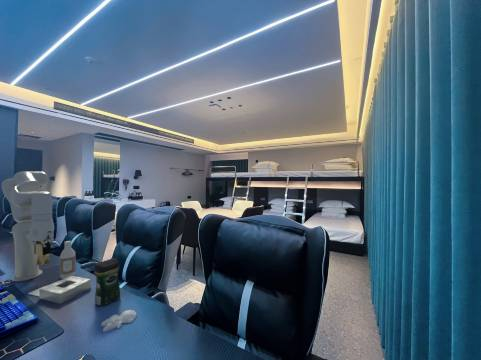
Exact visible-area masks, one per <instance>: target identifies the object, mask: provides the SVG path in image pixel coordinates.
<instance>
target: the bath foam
mask: <svg viewBox="0 0 481 360" xmlns="http://www.w3.org/2000/svg"><path fill="white" fill-rule="evenodd" d="M63 248H64V249H63V250H62V251H61V253H60V256H59V277H60V279H61V280H62V279H64V278H67V277H69V276H75V277H76V274H77V272H76V271H77V263H76V262H77V260H76V258H77V256H76V251H75V250H74V249H73V248H72V241H71V240H67V241H64V247H63Z"/></svg>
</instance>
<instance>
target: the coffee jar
mask: <svg viewBox="0 0 481 360" xmlns="http://www.w3.org/2000/svg"><path fill="white" fill-rule="evenodd" d="M119 270H120V262H119V259H117V258H114V257H113V258H110V259H106V260H103V261H100V262H97V263H95V265H94V271H93V272H94V275H95V278H96V284H95V295H94V303H95V304H96V306H101V307H102V306H107V305H109V304H112V303H114V302H115V301H117V300H119V299H120V297H121V290H120V282H119Z"/></svg>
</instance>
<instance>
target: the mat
mask: <svg viewBox="0 0 481 360" xmlns="http://www.w3.org/2000/svg"><path fill="white" fill-rule="evenodd" d="M48 285H49V284H48ZM48 285H45V286H42V287H39V288H38V289H35V290H31V291H30V292H28V293H27V295H31V296H35V297H39V298H40V295H39V289H41V288H43V287H46V286H48Z"/></svg>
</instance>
